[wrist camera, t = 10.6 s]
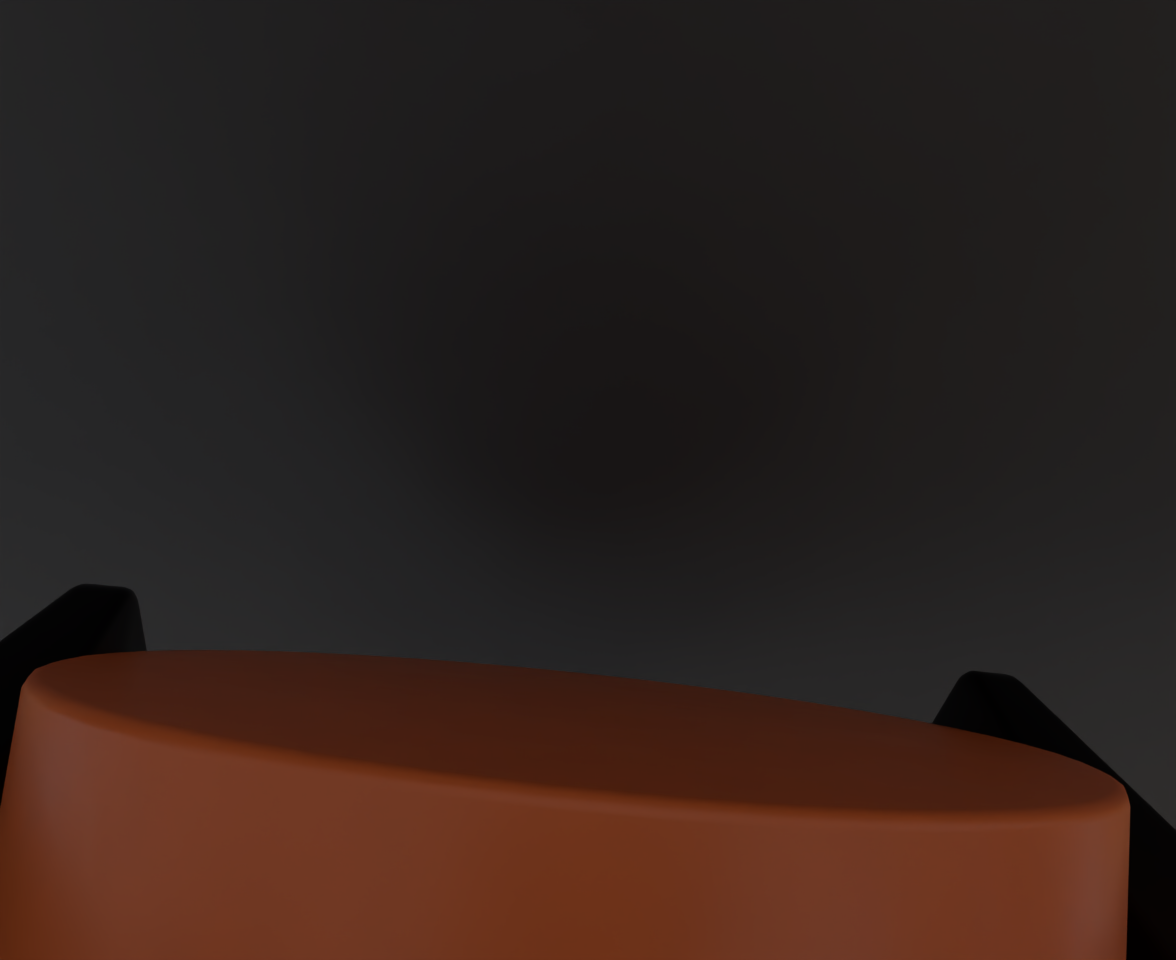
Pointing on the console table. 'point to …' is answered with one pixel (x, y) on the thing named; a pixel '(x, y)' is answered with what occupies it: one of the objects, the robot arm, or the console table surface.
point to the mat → (608, 339)
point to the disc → (529, 821)
